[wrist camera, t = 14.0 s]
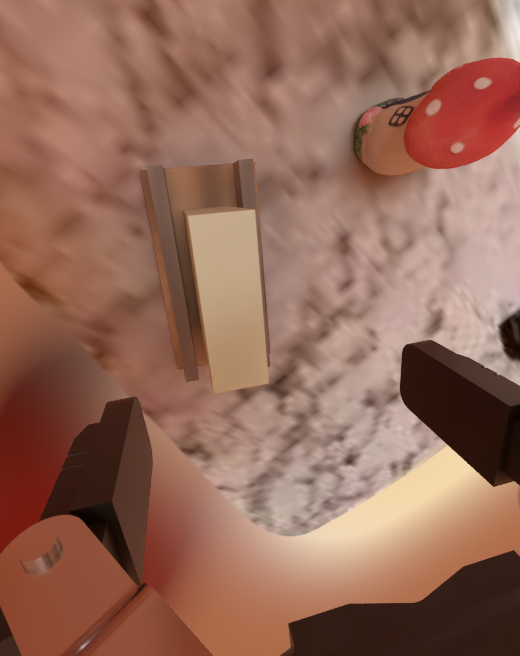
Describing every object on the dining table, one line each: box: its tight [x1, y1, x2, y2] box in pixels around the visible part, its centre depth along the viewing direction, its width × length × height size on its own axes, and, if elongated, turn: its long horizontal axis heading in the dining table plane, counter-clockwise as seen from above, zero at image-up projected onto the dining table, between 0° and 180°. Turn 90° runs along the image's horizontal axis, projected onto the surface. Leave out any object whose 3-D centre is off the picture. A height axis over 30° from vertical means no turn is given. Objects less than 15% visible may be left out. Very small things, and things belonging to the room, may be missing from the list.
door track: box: [139, 159, 270, 382], centre depth 33 cm, size 10×19×4 cm, turn 5°
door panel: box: [183, 206, 269, 394], centre depth 28 cm, size 4×12×12 cm, turn 4°
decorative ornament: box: [354, 58, 520, 175], centre depth 28 cm, size 9×6×15 cm
